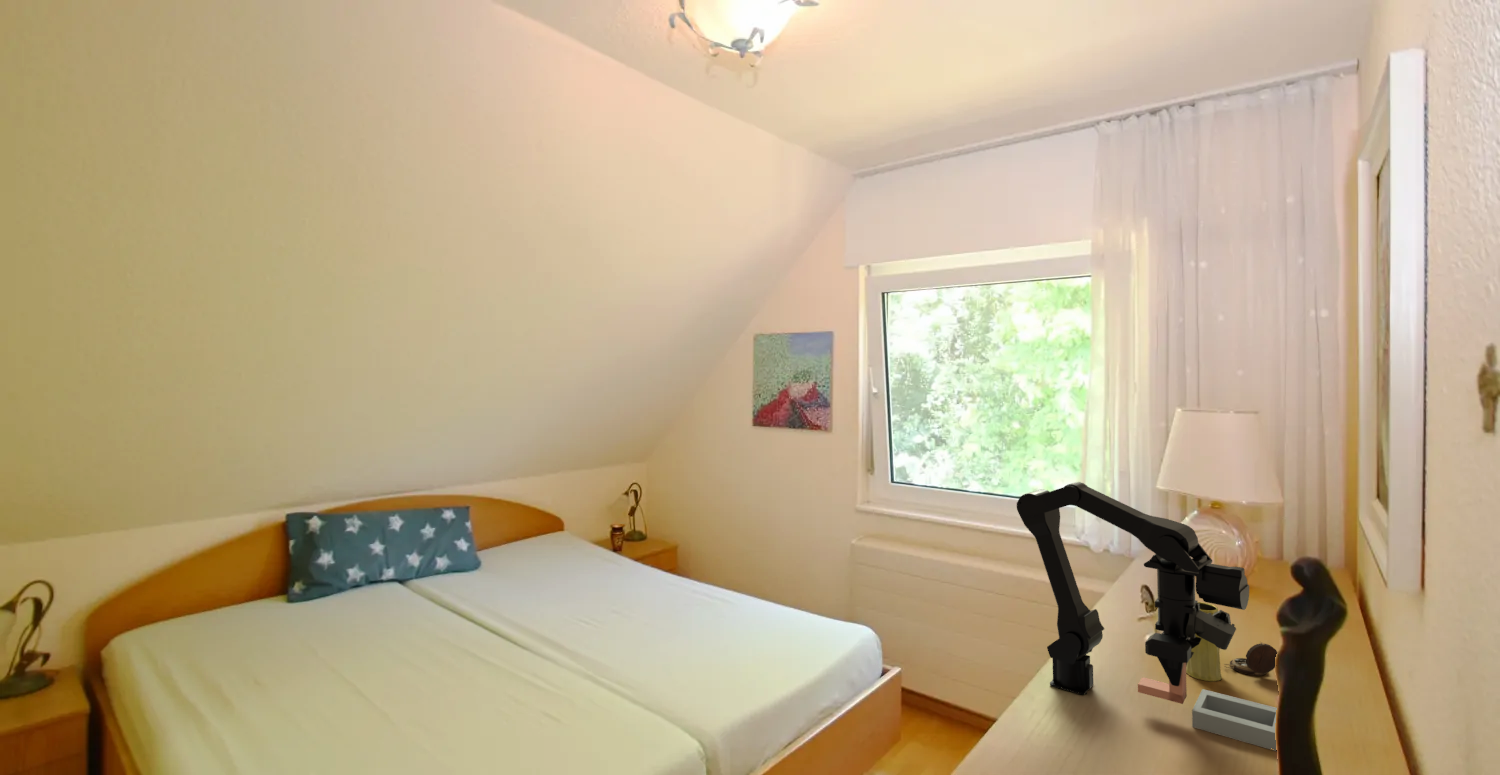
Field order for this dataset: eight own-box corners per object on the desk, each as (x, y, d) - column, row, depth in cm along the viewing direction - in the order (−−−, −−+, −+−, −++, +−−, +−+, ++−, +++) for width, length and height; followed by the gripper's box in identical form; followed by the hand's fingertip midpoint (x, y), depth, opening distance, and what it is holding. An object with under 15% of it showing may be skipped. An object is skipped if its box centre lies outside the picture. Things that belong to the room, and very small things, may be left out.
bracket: (1186, 696, 120) (1185, 658, 120) (1182, 704, 118) (1182, 664, 118) (1142, 685, 125) (1141, 648, 125) (1137, 692, 122) (1137, 654, 122)
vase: (1227, 682, 133) (1226, 612, 132) (1193, 681, 134) (1192, 610, 134) (1212, 669, 139) (1212, 601, 138) (1180, 667, 140) (1179, 600, 140)
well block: (1192, 727, 118) (1192, 710, 117) (1202, 704, 125) (1202, 688, 125) (1279, 751, 109) (1278, 733, 109) (1284, 726, 117) (1284, 709, 117)
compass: (1251, 662, 141) (1251, 628, 141) (1280, 680, 133) (1280, 644, 133) (1213, 663, 141) (1213, 629, 141) (1240, 681, 134) (1240, 645, 133)
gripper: (1222, 621, 107) (1224, 717, 107) (1239, 590, 121) (1240, 675, 121) (1143, 606, 114) (1145, 696, 115) (1167, 579, 128) (1169, 659, 129)
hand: (1177, 681), depth 120 cm, fingers closed on bracket, 3 cm apart
